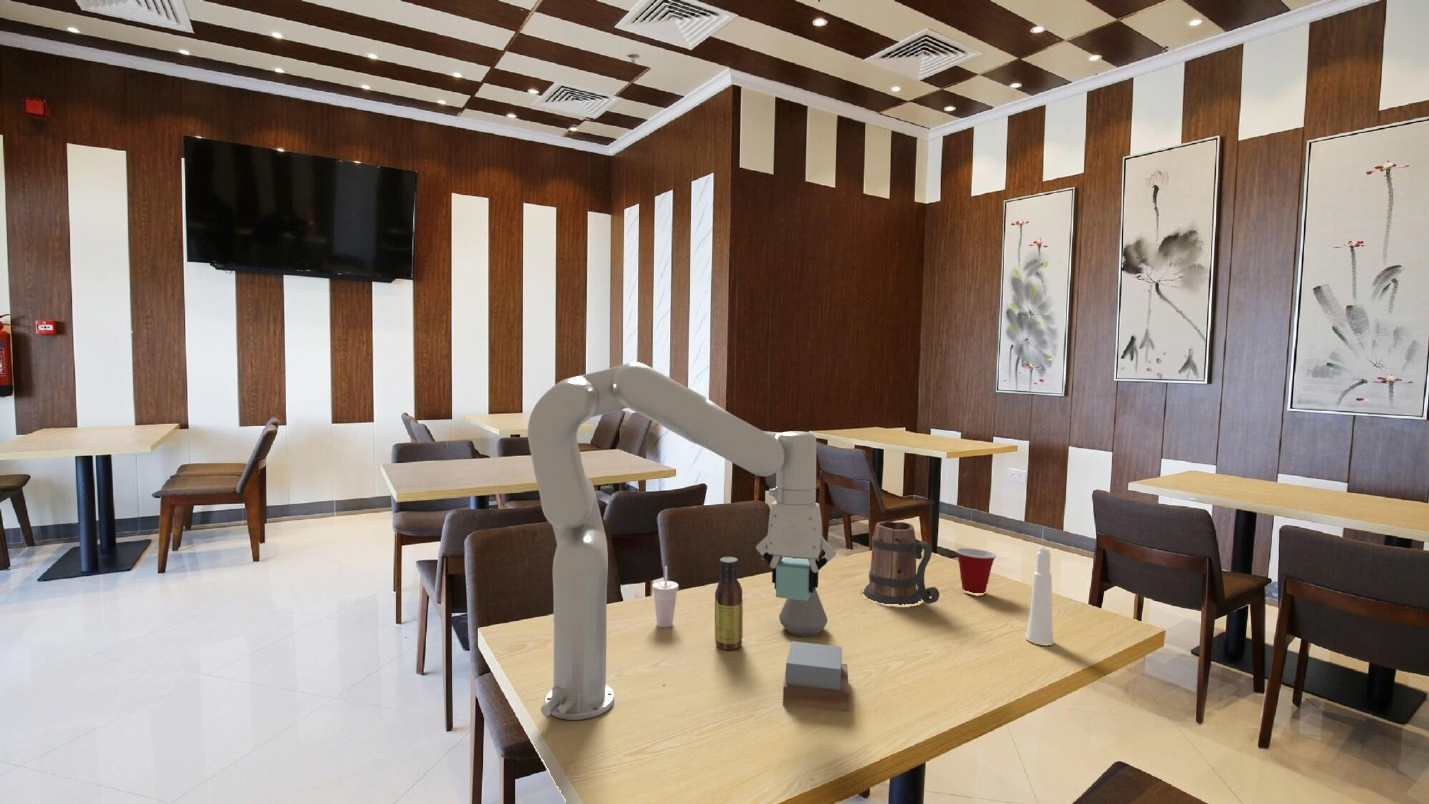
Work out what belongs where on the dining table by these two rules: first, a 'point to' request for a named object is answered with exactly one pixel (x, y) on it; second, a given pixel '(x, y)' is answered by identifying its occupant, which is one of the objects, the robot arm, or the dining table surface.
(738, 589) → the sauce bottle
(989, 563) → the plastic cup
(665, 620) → the smoothie
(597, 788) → the dining table surface
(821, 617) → the coffee pot
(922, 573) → the tankard
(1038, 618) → the cosmetic bottle
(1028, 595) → the dining table surface
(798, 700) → the bottom block
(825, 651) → the top block
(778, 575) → the teal cube
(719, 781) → the dining table surface
